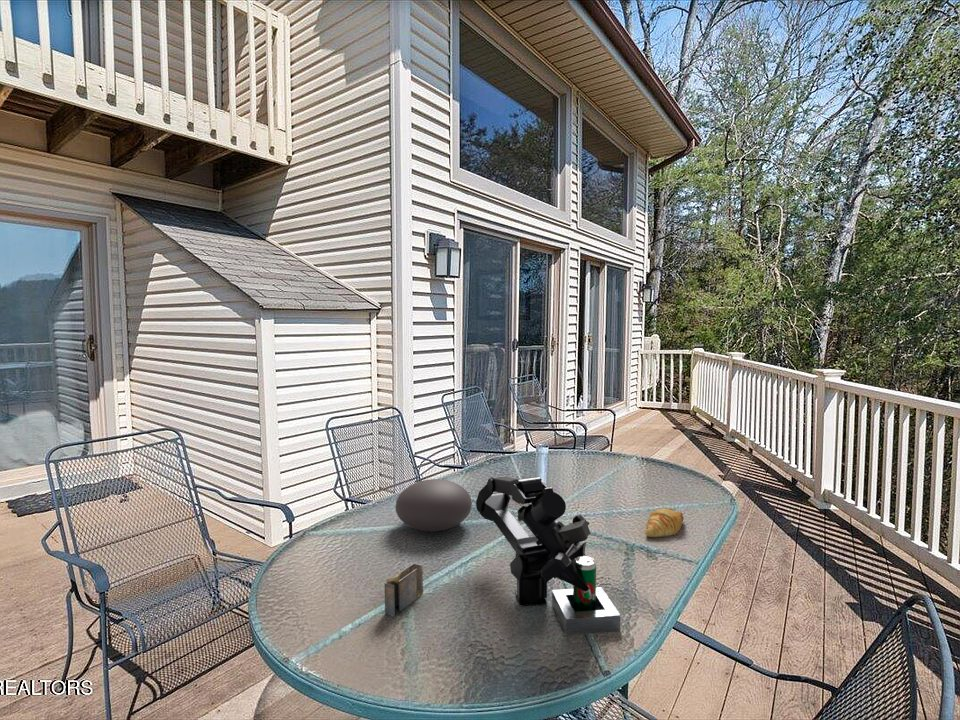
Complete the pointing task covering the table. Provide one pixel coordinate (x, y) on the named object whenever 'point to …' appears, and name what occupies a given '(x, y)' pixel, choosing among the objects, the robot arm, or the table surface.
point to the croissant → (663, 523)
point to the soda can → (588, 573)
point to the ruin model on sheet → (403, 588)
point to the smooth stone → (433, 505)
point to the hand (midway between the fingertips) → (590, 584)
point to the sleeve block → (585, 613)
